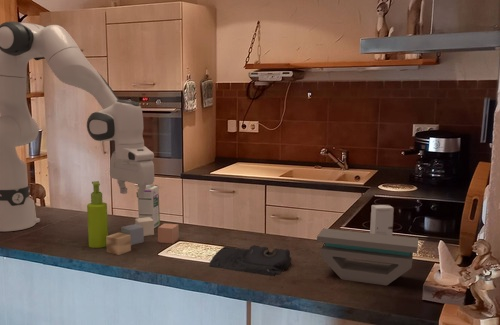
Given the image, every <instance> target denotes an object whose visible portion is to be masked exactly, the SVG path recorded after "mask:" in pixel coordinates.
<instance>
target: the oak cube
mask: <svg viewBox="0 0 500 325" xmlns="http://www.w3.org/2000/svg"><path fill="white" fill-rule="evenodd" d="M106 242H107V246H106V253H108V254H113V255H116V256H120V255H123V254H126V253H129V252H132V245H131V235H128V234H124V233H121V232H116V233H113V234H108V236H106Z"/></svg>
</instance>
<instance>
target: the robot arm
mask: <svg viewBox="0 0 500 325" xmlns="http://www.w3.org/2000/svg"><path fill="white" fill-rule="evenodd" d="M31 60H35V61H40V60H45V61H46V63H47V64H48V66H49V68H50V70H51V72H52V73H53V74H54V76H55V77H56V78H57V79H58V80H59V81H60V82H62V83H63V84H65V85H69V86H72V87H74V88H78V89H81V90H83V91H85V92H87V93H89V94H91V96H93V98H94V99H95V100H96V101H97V103H98V104H99V106H100V107H101V108H102V109H101V110H98V111H95V112H92V113H91V114H90V115H89V116H88V118H87V122H86V130H87V132H88V134H89V136H90V137H91V138H92V140H94V141H97V142H98V141H99V142H107V141H110V142H111V141H114V151H113V152H112V154H111V157H110V161H109V176H110V178H111V179H114V180H116V182H117V185H118V187H119V192H120V194H122V195H125V194H128V187H127V186H126V182H127V183H132V184H135V185H136V184H137V188H139V190H138V191H136V198H137V199H138V198H144V191H145V189H146V185H153V184H154V182H155V164H154V161H153V160H154V159H155V154H154V152H153V151H151V150H150V149H149V148H148V147H147V146H145V140H144V137H143V133H144V129H145V128H144V115H143V110H142V106H141V104H140V103H138V102H137V101H134V100H130V99H120V98H119V97H118V96H117V94H116V93H115V92H114V90H113V89H112V87H111V86H110V84H108V82H107V81H106V80H105V79H106V78H104V77H103V76H102V75H101V74H100V73H99V71H97V69H96V68H95V67H94V66H93V65H92V63H90V61H89V60H88V58H86V56H85V55H84V53H83V51H82V50H81V49H80V47H79V45H78V44H77V42H76V41H75V40H74V38H73V37H72V35H70V33H69V32H68V30H66V29H65V28H64V27H63V26H61V25H58V24H50V25H41V24H36V23H33V22H19V21H6V22H3V23H1V24H0V232H13V231H14V232H15V231H21V230H26V229H29V228H31V227H33V226H35V225H36V224H37V223H40V222H41V218H39V217H37V212H36V205H35V200H34V199H33V198H31V197H30V195H31V193H30V192H31V188H30V186H29V185H28V184H29V181H28V167H27V166H28V165H27V164H26V162H25V161H24V160H22V159H20V157H19V155H18V152H17V150H16V147H22V146H25V145H29V144H30V143H32V142H34V141H35V140H36V139H37V137H38V136H39V133H40V131H39V130H40V129H39V125H38V122H37V121H36V120H35V119H34V118H33V116H32V115H31V113H30V109H29V107H28V101H27V76H28V70H27V69H28V63H29V62H30V61H31Z"/></svg>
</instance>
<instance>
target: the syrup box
mask: <svg viewBox="0 0 500 325" xmlns="http://www.w3.org/2000/svg"><path fill="white" fill-rule="evenodd" d="M138 190H139V187H137V191H136V192H138ZM159 191H160V190H159V186H158V185H153V184H151V185H146V189H145V191H144V198H137V206H138V207H137V209H138V210H137V211H138V214H137V215H138V218H145V217H150V218H151V219H152V220H154V229H155V228H158V227H159V226H161V225H160V224H161V218H160V217H161V215H160V192H159Z"/></svg>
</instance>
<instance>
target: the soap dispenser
mask: <svg viewBox="0 0 500 325" xmlns="http://www.w3.org/2000/svg"><path fill="white" fill-rule="evenodd" d="M91 184H92V187H93V188H92V189H93V192H91V193H90V203H87V205H86V207H87V208H86V211H87V234H88V235H87V236H88V247H89V248H94V249H99V248H104V247H107V242H106V236H109V226H108V225H109V224H108V222H109V221H108V204H107V203H106V202H103V201H104V200H103V192H101V191H100V185H101V183H100V181H99V180H98V181H91Z"/></svg>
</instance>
